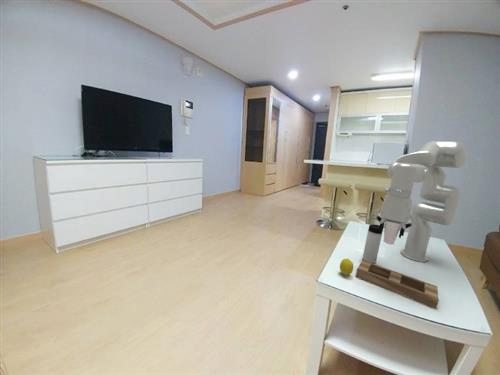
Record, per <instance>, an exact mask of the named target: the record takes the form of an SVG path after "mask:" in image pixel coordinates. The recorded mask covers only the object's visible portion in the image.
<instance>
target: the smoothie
mask: <svg viewBox="0 0 500 375" xmlns="http://www.w3.org/2000/svg"><path fill="white" fill-rule="evenodd" d="M401 227H402V224H401V222H397V221H392V220H388V219H386V220H385V221H384V228H383V232H384V233H383V242H384V243H385V244H388V245H391V246H392V245H394V244H395V241H396V239H397V237H398V235H399V233H400V229H401Z"/></svg>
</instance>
